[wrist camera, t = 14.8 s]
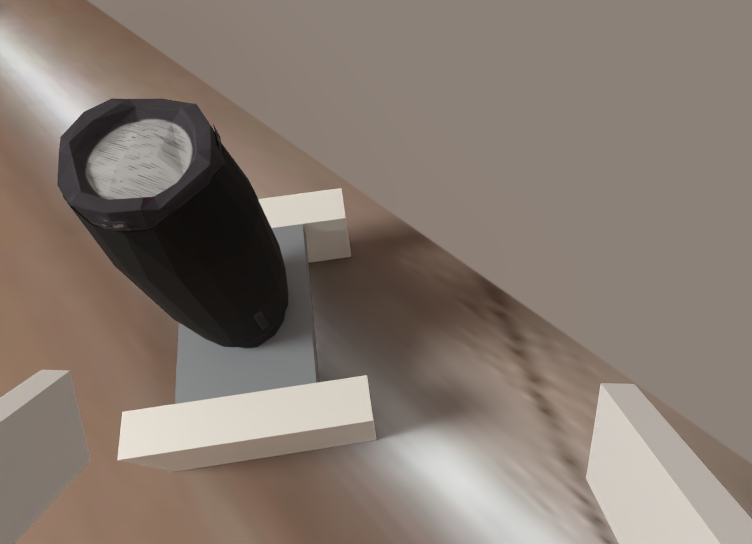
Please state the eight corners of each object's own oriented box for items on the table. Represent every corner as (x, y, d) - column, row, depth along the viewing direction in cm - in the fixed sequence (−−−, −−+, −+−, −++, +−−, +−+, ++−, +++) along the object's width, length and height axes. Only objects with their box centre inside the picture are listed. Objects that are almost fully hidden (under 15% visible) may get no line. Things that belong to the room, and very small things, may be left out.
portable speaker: (180, 284, 41) (27, 114, 24) (283, 249, 43) (208, 64, 25) (200, 374, 37) (35, 248, 20) (312, 332, 39) (248, 181, 22)
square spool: (376, 440, 44) (373, 420, 35) (173, 471, 44) (117, 460, 35) (349, 241, 54) (341, 188, 46) (183, 264, 54) (142, 214, 45)
